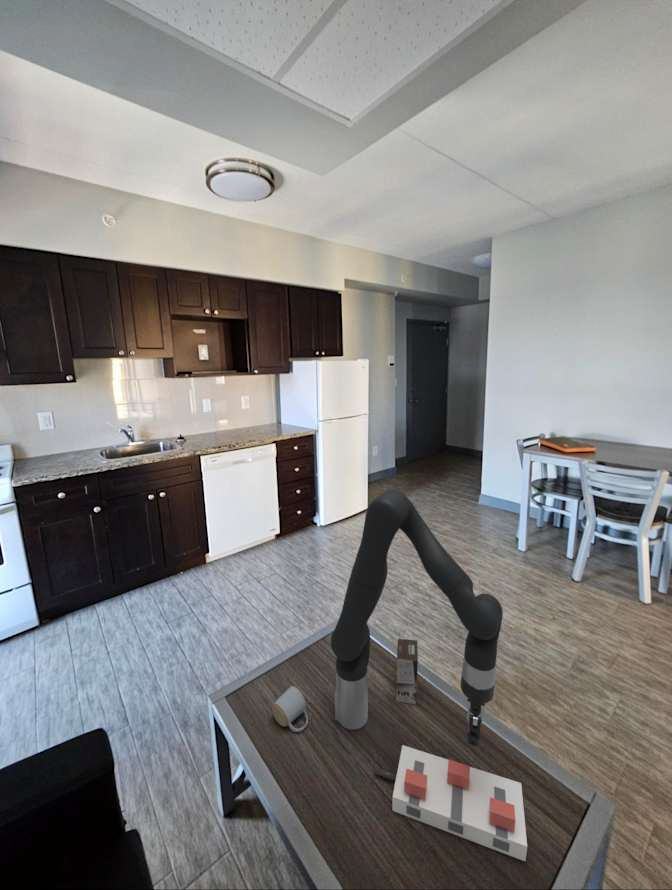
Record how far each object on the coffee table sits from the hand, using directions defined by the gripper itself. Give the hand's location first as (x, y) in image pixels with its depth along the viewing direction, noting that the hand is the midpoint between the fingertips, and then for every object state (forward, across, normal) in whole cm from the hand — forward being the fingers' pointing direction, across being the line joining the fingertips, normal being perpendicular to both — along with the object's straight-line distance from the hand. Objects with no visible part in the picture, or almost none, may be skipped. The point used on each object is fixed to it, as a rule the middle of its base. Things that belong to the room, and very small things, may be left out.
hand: (473, 728), depth 96 cm
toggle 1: (+11, +11, -12) cm, 20 cm away
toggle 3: (+10, +11, +7) cm, 17 cm away
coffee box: (+16, -20, -20) cm, 33 cm away
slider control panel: (+16, +8, -5) cm, 18 cm away
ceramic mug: (+17, +1, -50) cm, 53 cm away
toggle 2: (+11, +6, -2) cm, 12 cm away
